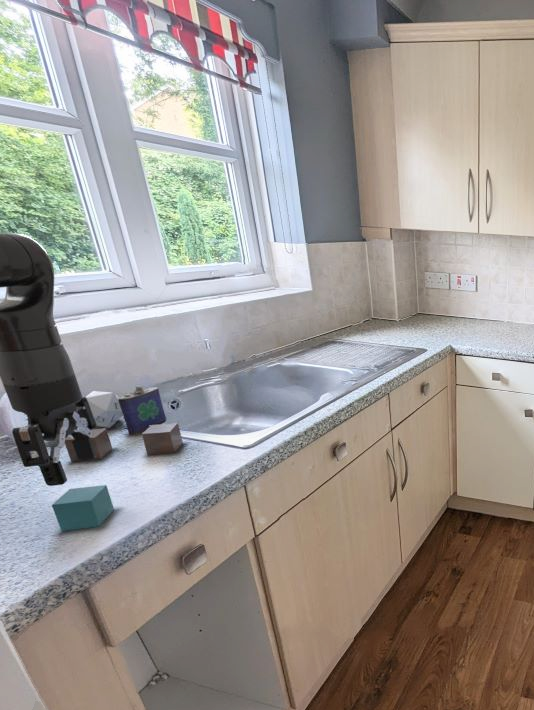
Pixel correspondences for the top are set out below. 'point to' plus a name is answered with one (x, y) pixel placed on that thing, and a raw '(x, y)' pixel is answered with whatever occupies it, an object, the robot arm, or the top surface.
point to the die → (104, 408)
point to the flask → (142, 409)
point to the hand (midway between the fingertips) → (73, 470)
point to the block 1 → (99, 443)
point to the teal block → (83, 507)
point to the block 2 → (162, 438)
